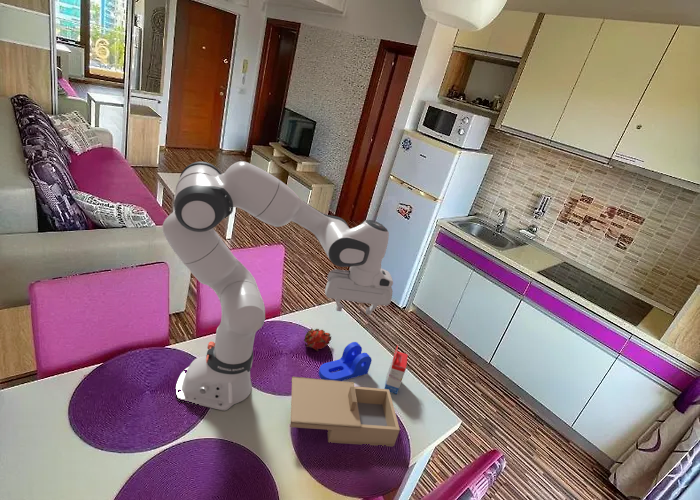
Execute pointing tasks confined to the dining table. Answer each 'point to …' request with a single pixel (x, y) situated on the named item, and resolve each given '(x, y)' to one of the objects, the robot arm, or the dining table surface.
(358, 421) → the lid
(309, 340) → the dragon fruit
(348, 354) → the bracket
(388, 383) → the ink box
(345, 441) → the mailer box
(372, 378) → the dining table surface
